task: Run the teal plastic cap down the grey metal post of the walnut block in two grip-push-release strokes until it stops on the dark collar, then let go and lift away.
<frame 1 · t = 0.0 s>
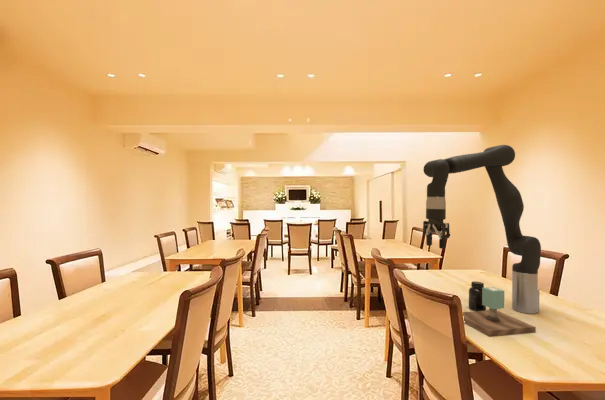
hand: (435, 246, 127), 29 cm above the table, tool pointing down, fingers open, 8 cm apart
thread block: (492, 324, 120), on the table
supplement bottle: (477, 309, 137), on the table
cap: (493, 297, 120), point 11 cm above the table, slide at 4.0 cm
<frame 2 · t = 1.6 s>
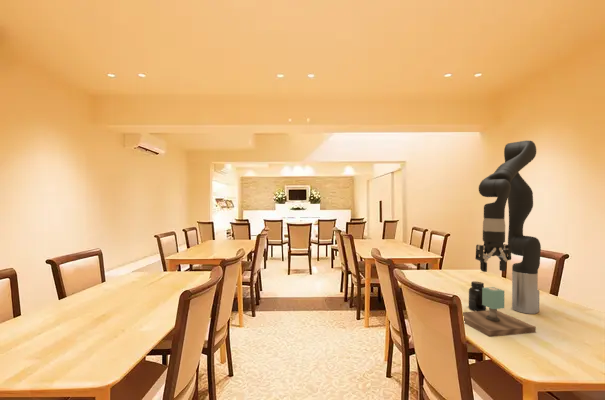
hand: (493, 271, 120), 21 cm above the table, tool pointing down, fingers open, 8 cm apart
nothing on the table moved.
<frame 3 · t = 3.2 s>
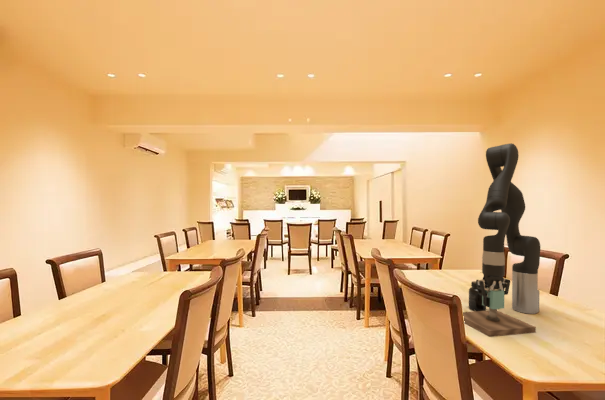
hand: (493, 305, 120), 7 cm above the table, tool pointing down, fingers closed on cap, 5 cm apart
cap: (493, 297, 120), point 11 cm above the table, slide at 4.0 cm, touching gripper
everything else where it was.
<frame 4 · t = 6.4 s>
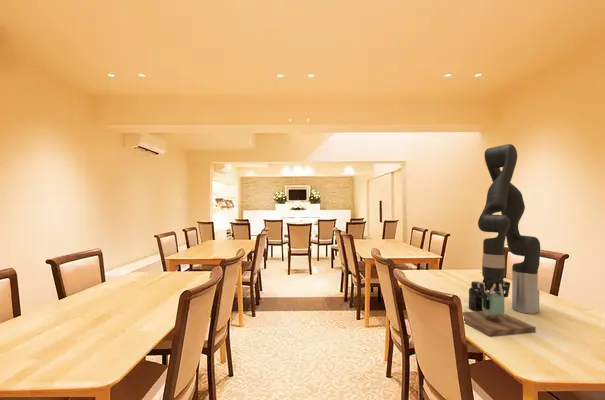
hand: (493, 308, 120), 6 cm above the table, tool pointing down, fingers closed on cap, 5 cm apart
cap: (493, 302, 120), point 9 cm above the table, slide at 1.9 cm, touching gripper
everything else where it was.
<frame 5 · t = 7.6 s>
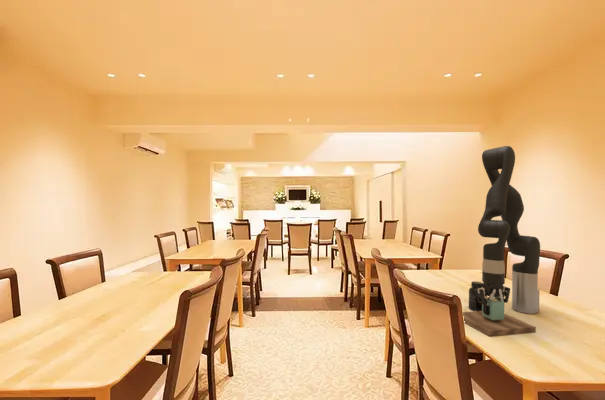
hand: (492, 313, 120), 4 cm above the table, tool pointing down, fingers closed on cap, 5 cm apart
cap: (493, 308, 120), point 6 cm above the table, slide at -0.2 cm, touching gripper
everything else where it was.
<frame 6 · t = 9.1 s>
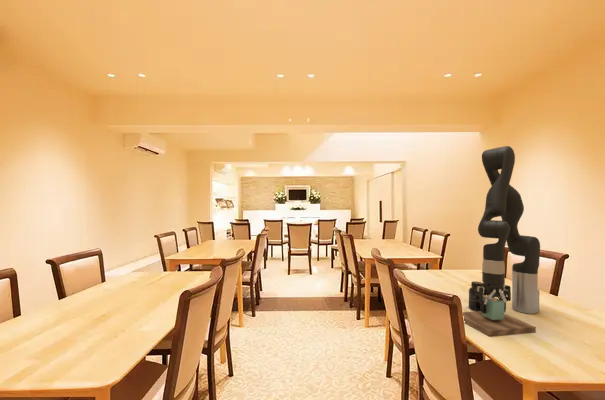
hand: (493, 312, 120), 5 cm above the table, tool pointing down, fingers open, 8 cm apart
cap: (493, 308, 120), point 7 cm above the table, slide at -0.1 cm
everything else where it was.
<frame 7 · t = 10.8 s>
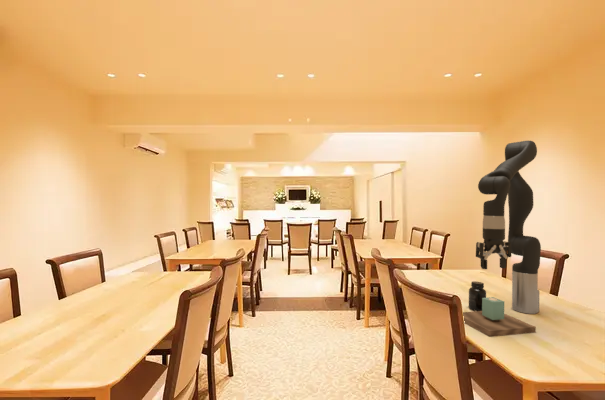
hand: (493, 268, 120), 22 cm above the table, tool pointing down, fingers open, 8 cm apart
nothing on the table moved.
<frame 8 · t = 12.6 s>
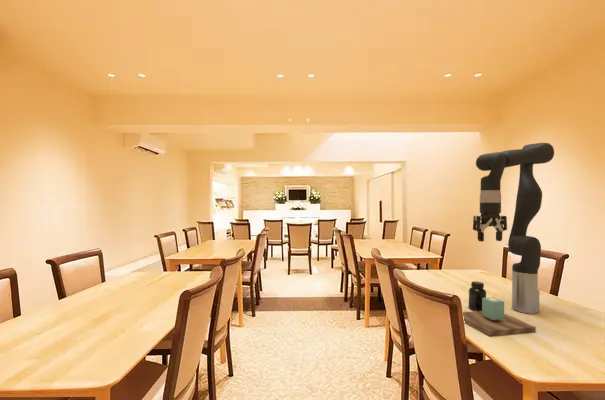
hand: (489, 241, 126), 32 cm above the table, tool pointing down, fingers open, 8 cm apart
nothing on the table moved.
at the end: cap slide at -0.1 cm; the gripper is holding nothing; supplement bottle moved 0.2 cm from its start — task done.
